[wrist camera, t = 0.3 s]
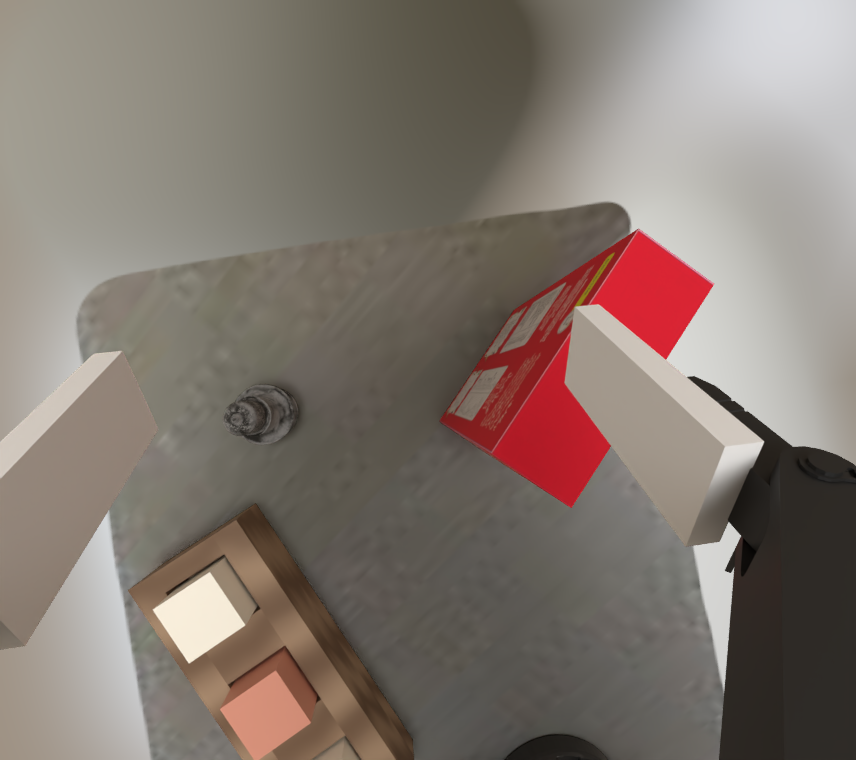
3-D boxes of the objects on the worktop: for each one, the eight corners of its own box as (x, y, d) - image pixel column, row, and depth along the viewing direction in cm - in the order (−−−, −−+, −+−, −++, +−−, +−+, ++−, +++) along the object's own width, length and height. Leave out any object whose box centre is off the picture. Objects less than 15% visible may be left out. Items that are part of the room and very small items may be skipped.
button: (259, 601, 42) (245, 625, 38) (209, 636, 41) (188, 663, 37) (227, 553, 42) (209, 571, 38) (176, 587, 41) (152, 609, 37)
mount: (412, 739, 47) (415, 789, 42) (323, 804, 47) (313, 865, 41) (255, 503, 47) (236, 519, 41) (162, 564, 46) (127, 590, 40)
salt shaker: (297, 381, 47) (266, 378, 35) (304, 436, 47) (275, 452, 35) (240, 388, 47) (189, 387, 35) (247, 444, 47) (198, 462, 35)
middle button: (318, 690, 42) (311, 722, 38) (268, 724, 42) (255, 762, 38) (287, 642, 42) (275, 670, 38) (236, 677, 42) (219, 709, 37)
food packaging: (479, 448, 49) (571, 507, 24) (439, 421, 49) (490, 453, 24) (552, 337, 50) (714, 283, 25) (513, 310, 50) (638, 228, 25)
